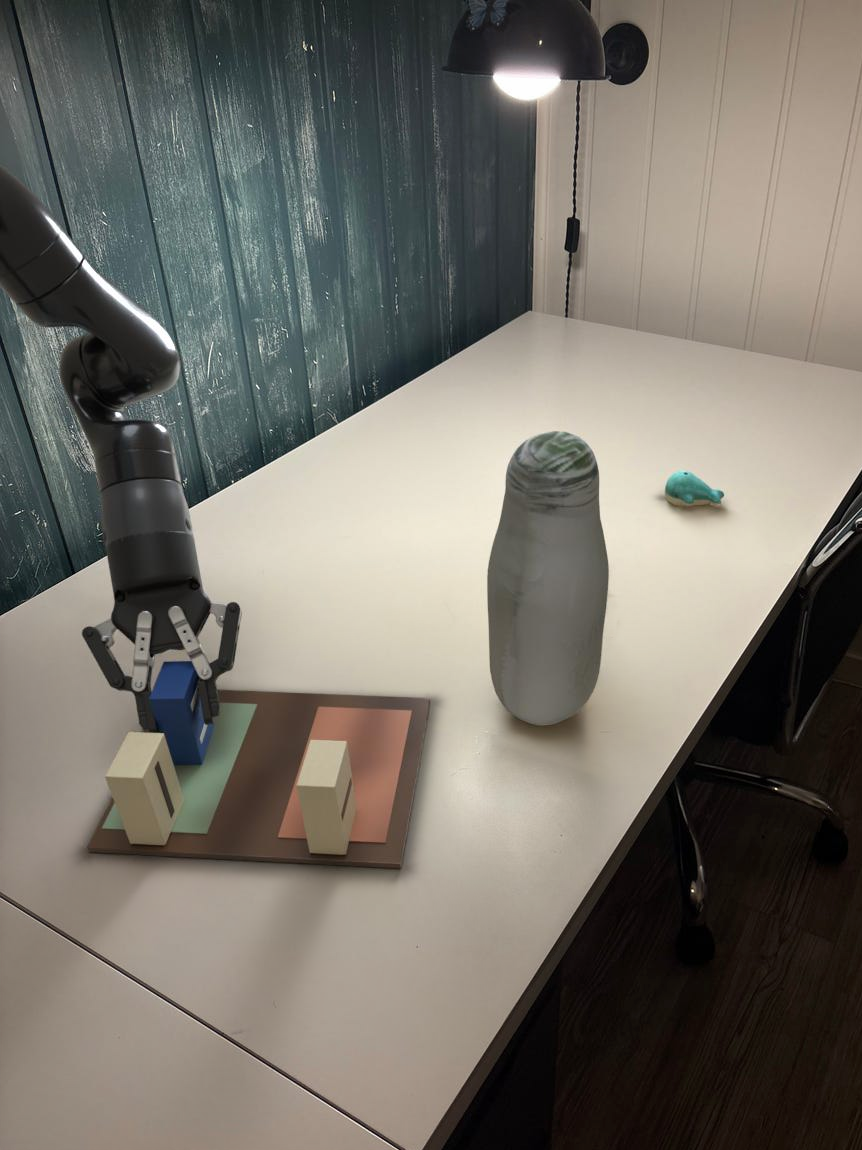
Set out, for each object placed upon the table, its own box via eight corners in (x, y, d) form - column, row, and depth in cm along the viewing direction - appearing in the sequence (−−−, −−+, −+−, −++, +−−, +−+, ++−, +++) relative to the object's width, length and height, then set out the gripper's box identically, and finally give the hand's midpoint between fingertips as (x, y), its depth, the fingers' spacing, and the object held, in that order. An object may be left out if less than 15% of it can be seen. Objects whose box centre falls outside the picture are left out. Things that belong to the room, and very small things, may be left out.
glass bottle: (570, 757, 86) (586, 482, 68) (472, 720, 90) (464, 452, 72) (613, 693, 93) (637, 428, 75) (519, 662, 97) (522, 403, 79)
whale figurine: (671, 485, 124) (674, 459, 122) (726, 496, 122) (731, 470, 120) (658, 506, 120) (661, 480, 118) (715, 518, 118) (719, 491, 115)
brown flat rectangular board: (88, 852, 78) (86, 846, 78) (169, 692, 94) (168, 686, 93) (400, 868, 76) (400, 863, 76) (430, 702, 92) (429, 697, 92)
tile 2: (308, 853, 77) (295, 785, 72) (321, 806, 81) (309, 739, 76) (346, 855, 77) (335, 787, 72) (357, 808, 80) (347, 740, 76)
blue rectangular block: (168, 765, 85) (147, 698, 80) (181, 726, 89) (163, 661, 84) (203, 764, 85) (184, 698, 80) (214, 726, 89) (198, 660, 84)
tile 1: (129, 844, 78) (103, 776, 73) (150, 798, 82) (127, 731, 77) (166, 846, 78) (142, 778, 73) (185, 800, 82) (164, 732, 77)
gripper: (234, 537, 90) (266, 716, 88) (76, 561, 87) (106, 746, 85) (227, 516, 82) (262, 710, 80) (54, 542, 79) (87, 744, 78)
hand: (182, 728), depth 83 cm, fingers closed on blue rectangular block, 4 cm apart
